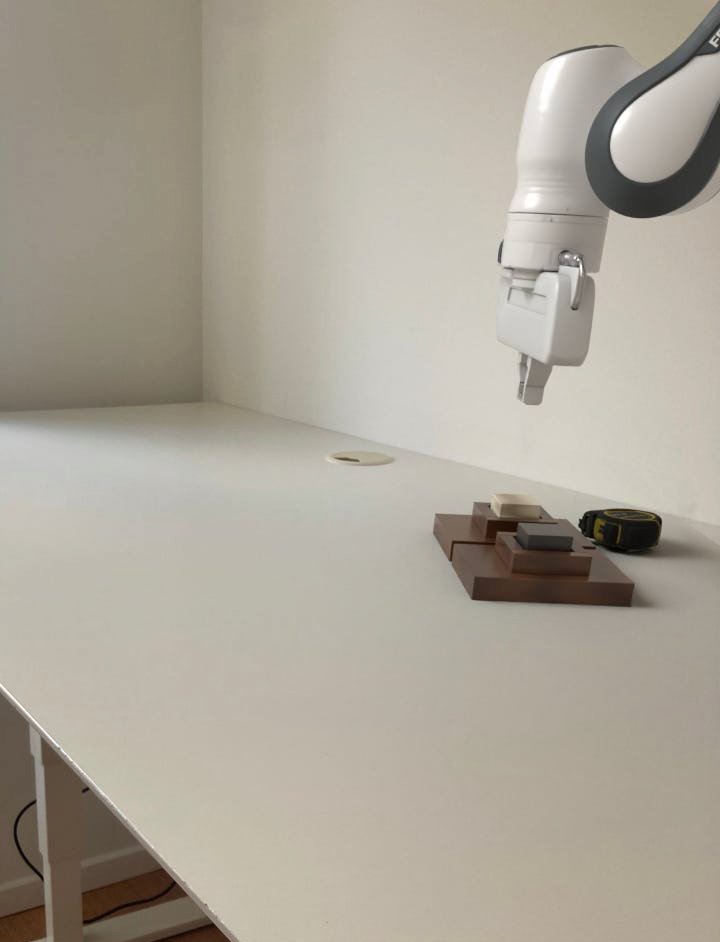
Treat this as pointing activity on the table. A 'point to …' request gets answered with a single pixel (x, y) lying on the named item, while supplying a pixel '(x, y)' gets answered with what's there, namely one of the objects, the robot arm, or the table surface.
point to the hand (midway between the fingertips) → (528, 402)
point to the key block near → (540, 574)
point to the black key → (544, 537)
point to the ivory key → (515, 506)
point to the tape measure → (622, 528)
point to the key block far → (489, 528)
